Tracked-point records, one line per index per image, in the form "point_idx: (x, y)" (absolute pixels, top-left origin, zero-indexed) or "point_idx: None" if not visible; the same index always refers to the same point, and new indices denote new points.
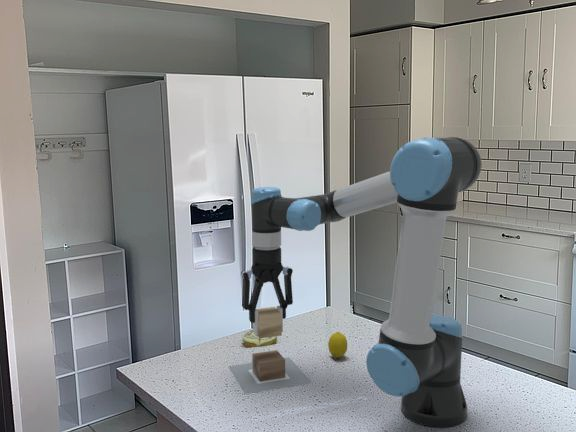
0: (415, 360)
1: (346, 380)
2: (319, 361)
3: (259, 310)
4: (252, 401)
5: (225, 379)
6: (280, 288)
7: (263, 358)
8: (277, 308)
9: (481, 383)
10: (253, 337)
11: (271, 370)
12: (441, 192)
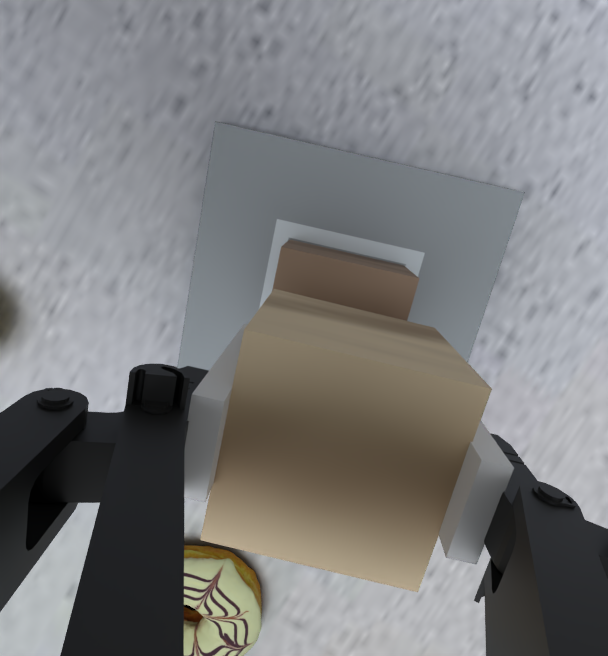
0: None
1: (54, 98)
2: (67, 328)
3: (389, 531)
4: (506, 153)
5: None
6: (84, 613)
7: None
8: (215, 465)
9: None
10: (229, 609)
11: (354, 258)
12: None
